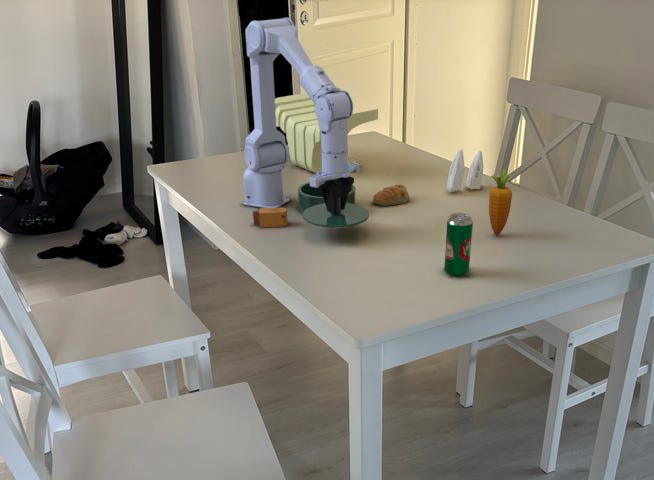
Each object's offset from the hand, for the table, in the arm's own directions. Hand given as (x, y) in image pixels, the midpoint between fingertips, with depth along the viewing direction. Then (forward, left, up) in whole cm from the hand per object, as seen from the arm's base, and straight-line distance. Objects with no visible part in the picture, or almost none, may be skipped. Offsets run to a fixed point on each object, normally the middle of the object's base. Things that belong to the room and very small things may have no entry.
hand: (335, 210), depth 168 cm
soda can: (+32, -9, -6) cm, 34 cm away
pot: (-10, +15, -6) cm, 19 cm away
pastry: (+3, +26, -6) cm, 27 cm away
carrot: (+34, +14, -6) cm, 37 cm away
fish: (-17, -1, -6) cm, 18 cm away
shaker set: (+17, +42, -6) cm, 46 cm away
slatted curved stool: (-27, +46, -6) cm, 54 cm away
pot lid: (0, 0, -1) cm, 1 cm away
